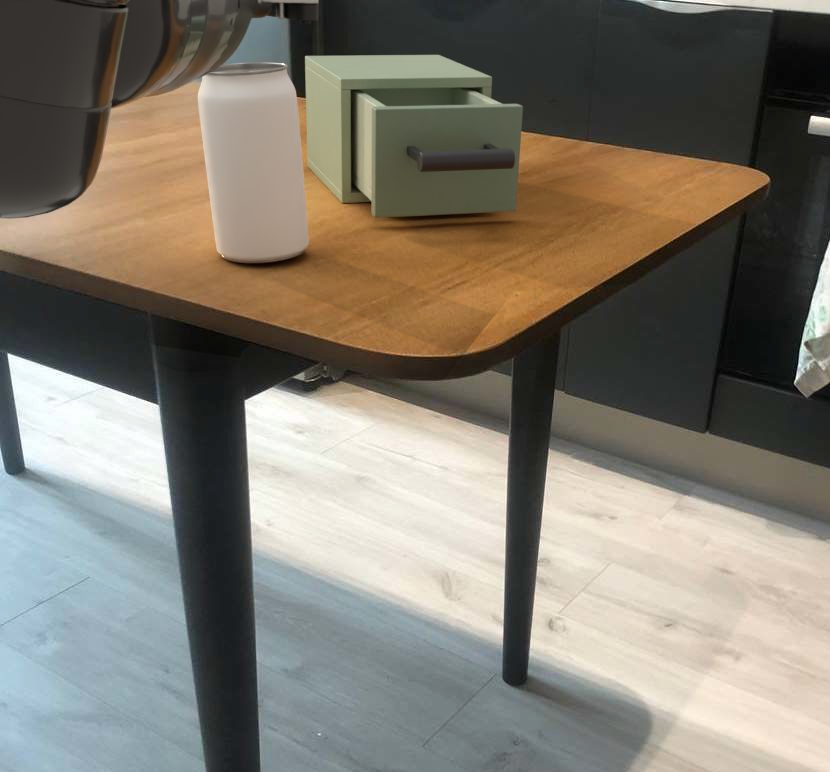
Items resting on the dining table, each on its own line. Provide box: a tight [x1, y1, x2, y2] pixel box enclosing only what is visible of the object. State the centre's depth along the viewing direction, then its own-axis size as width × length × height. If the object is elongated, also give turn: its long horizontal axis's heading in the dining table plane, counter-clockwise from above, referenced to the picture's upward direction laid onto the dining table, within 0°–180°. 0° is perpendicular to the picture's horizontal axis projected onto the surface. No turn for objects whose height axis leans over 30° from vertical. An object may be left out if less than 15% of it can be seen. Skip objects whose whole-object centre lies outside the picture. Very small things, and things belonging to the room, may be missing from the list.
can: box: [197, 61, 310, 264], centre depth 73 cm, size 6×6×12 cm
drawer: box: [350, 88, 524, 219], centre depth 85 cm, size 18×11×8 cm, turn 16°
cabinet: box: [304, 54, 493, 204], centre depth 95 cm, size 15×13×10 cm
